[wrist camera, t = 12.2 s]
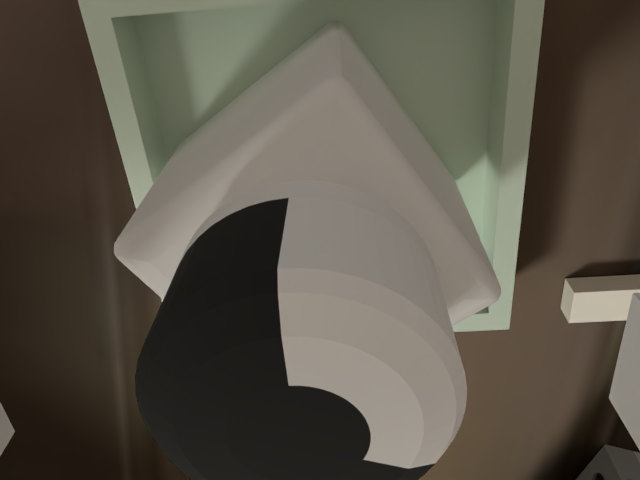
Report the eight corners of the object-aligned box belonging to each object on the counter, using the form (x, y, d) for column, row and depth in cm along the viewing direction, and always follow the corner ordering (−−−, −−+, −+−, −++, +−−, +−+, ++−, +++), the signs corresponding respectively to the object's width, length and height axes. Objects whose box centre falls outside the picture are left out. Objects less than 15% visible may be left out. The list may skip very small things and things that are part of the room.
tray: (188, 306, 24) (174, 345, 22) (106, -21, 18) (74, -11, 16) (493, 289, 23) (509, 329, 21) (523, -60, 17) (550, -54, 15)
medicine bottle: (302, 280, 23) (273, 595, 12) (174, 145, 20) (-1, 407, 10) (457, 181, 20) (582, 468, 10) (337, 13, 18) (338, 169, 7)
